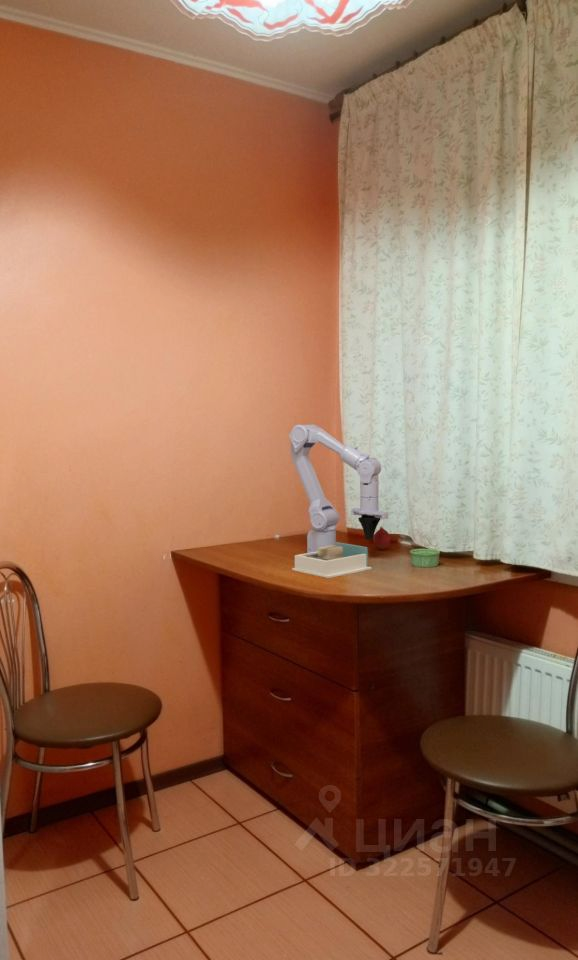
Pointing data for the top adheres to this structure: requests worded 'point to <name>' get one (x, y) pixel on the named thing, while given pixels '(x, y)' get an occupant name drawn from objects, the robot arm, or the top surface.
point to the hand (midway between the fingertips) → (369, 539)
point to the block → (330, 552)
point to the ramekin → (424, 557)
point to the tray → (347, 551)
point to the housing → (330, 565)
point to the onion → (381, 538)
